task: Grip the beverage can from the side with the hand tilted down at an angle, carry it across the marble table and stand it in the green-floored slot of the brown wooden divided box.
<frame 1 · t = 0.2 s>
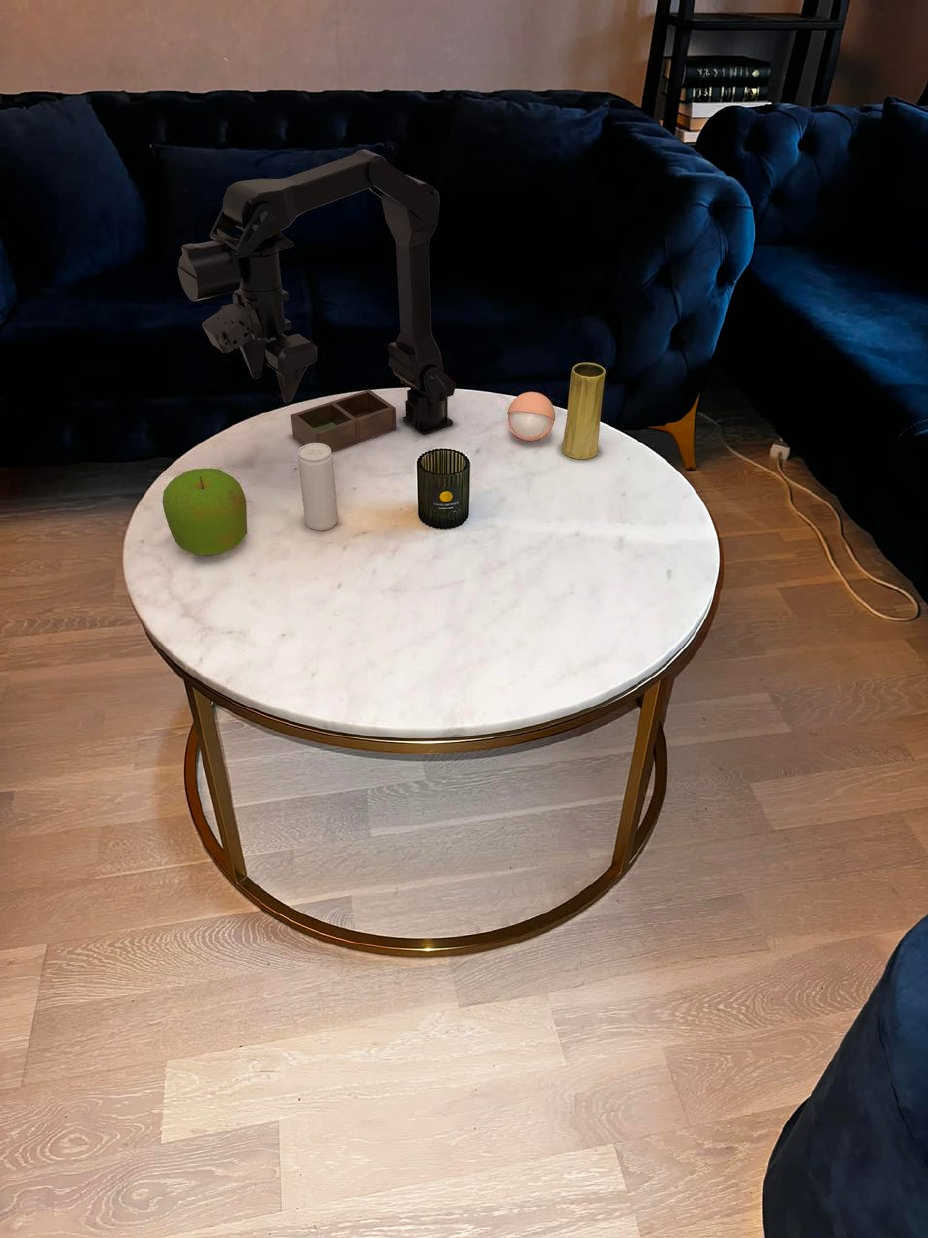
hand: (272, 389, 138), 15 cm above the table, tool pointing down, fingers open, 9 cm apart
brown wooden divided box: (345, 433, 158), on the table
apple: (212, 542, 134), on the table
toy ball: (529, 438, 158), on the table
vase: (579, 451, 155), on the table
beverage can: (321, 523, 138), on the table
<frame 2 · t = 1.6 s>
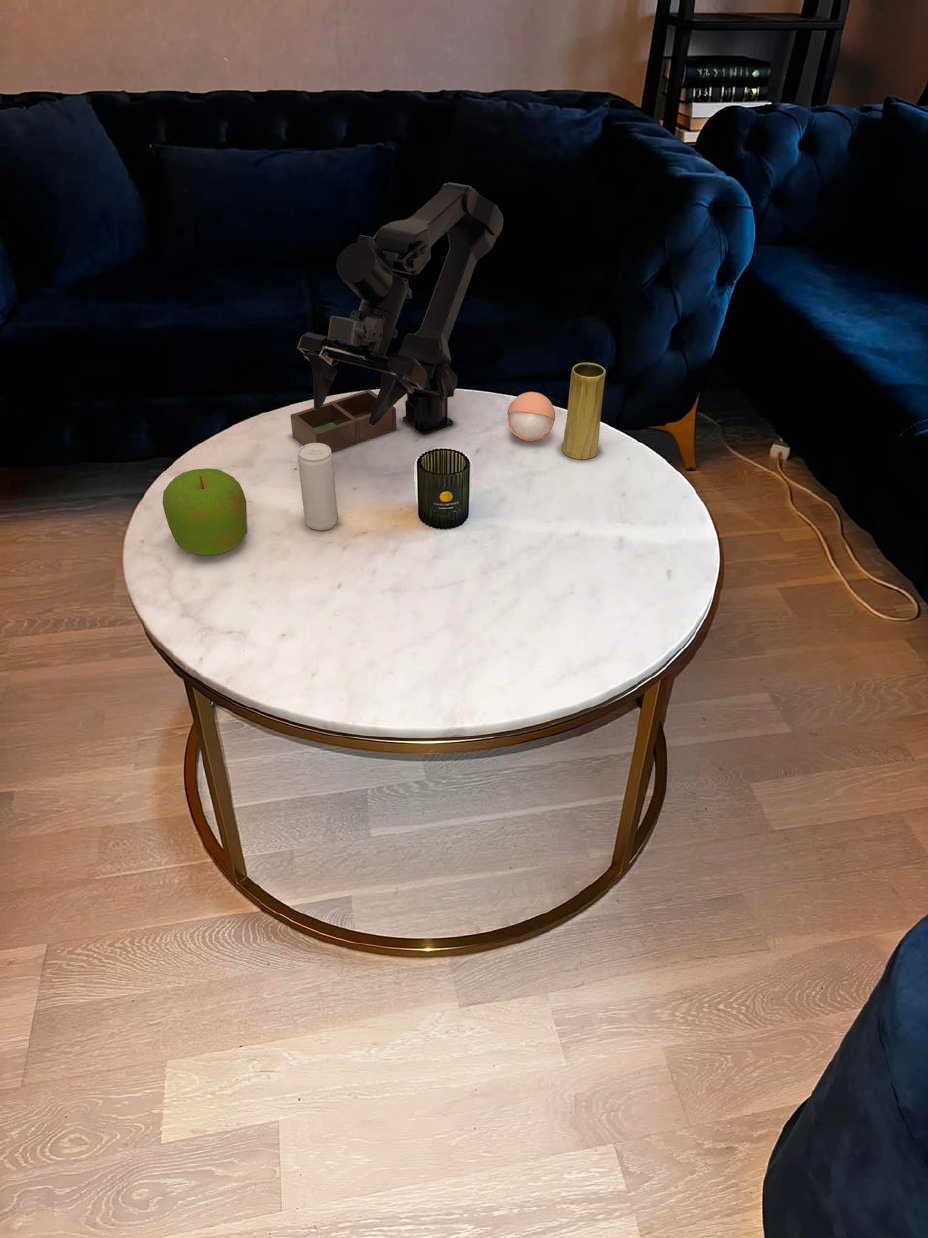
hand: (343, 416, 135), 13 cm above the table, tool tilted 45°, fingers open, 9 cm apart
nothing on the table moved.
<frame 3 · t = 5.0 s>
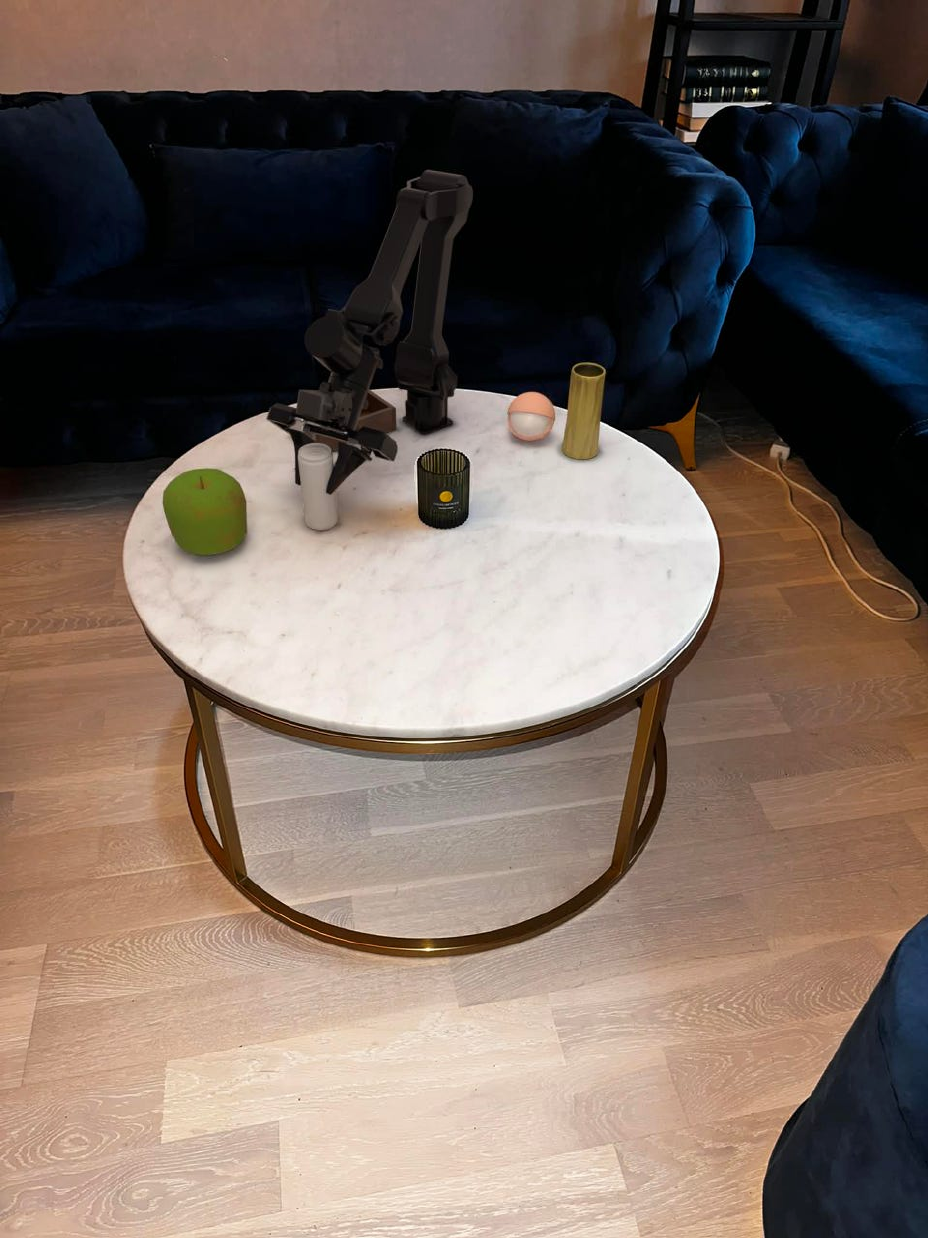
hand: (312, 489, 133), 7 cm above the table, tool tilted 45°, fingers closed on beverage can, 5 cm apart
beverage can: (321, 523, 138), on the table, touching gripper
everything else where it was.
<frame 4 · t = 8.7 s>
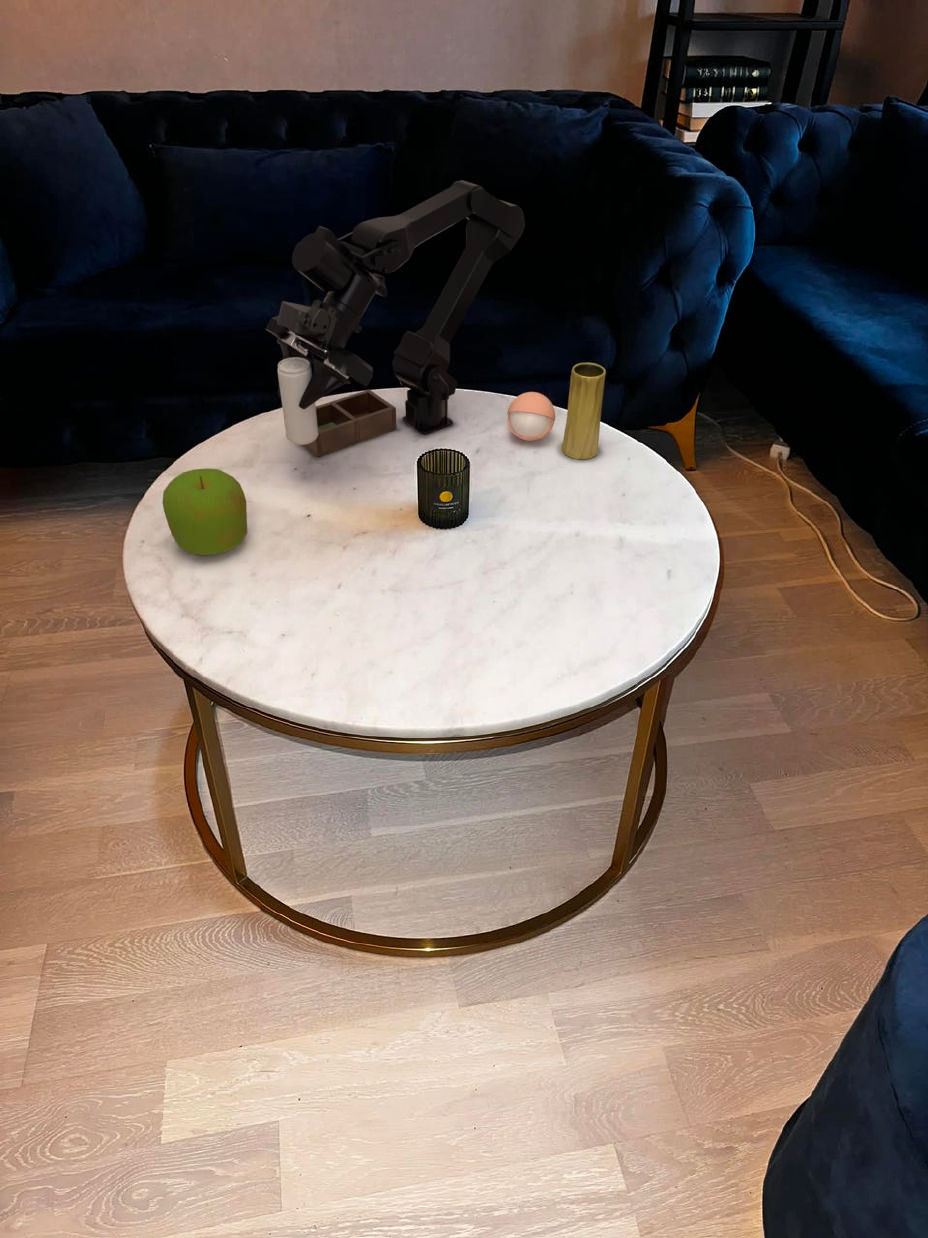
hand: (290, 401, 137), 14 cm above the table, tool tilted 45°, fingers closed on beverage can, 5 cm apart
beverage can: (302, 438, 143), point 7 cm above the table, touching gripper
everything else where it was.
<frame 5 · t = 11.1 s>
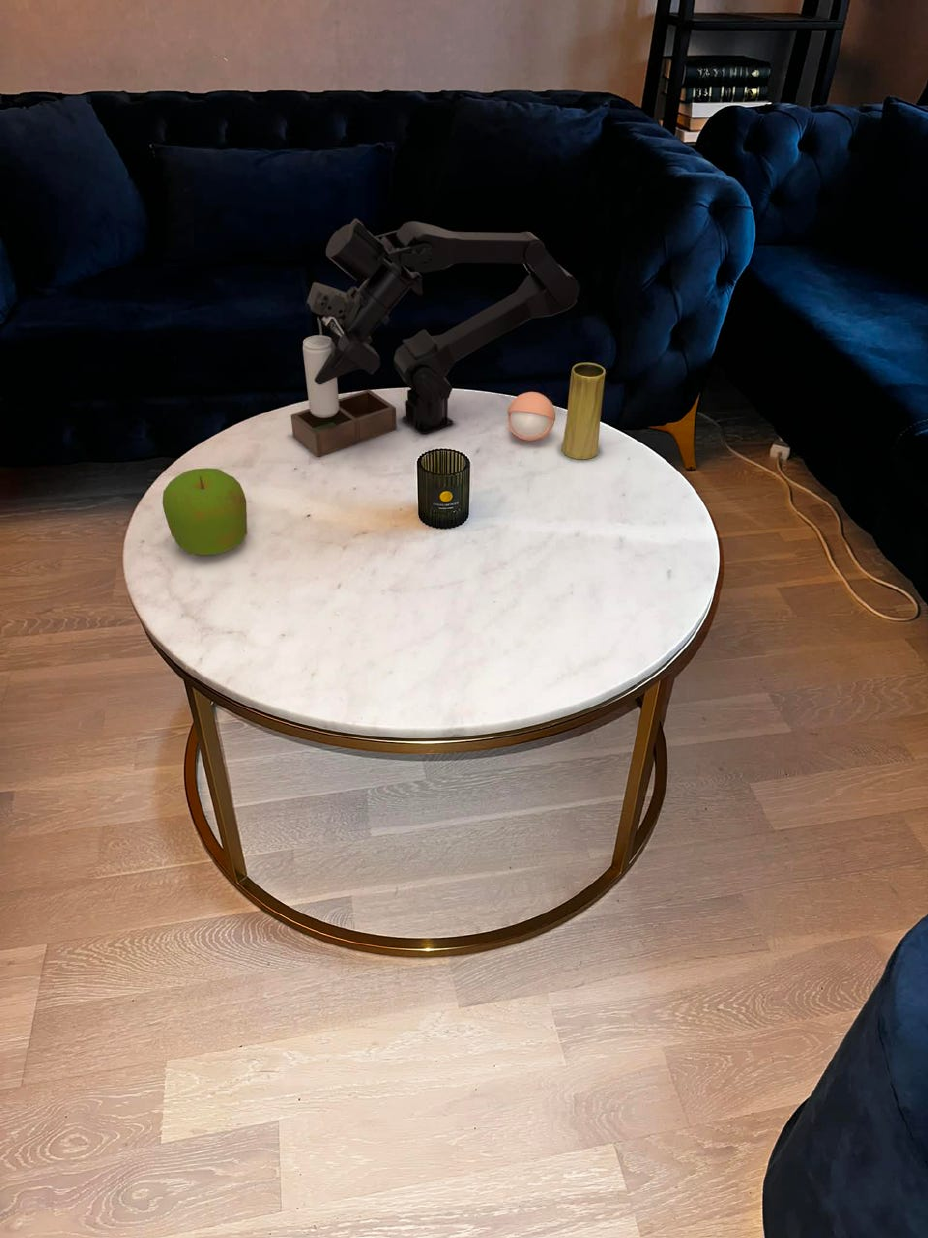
hand: (312, 375, 148), 12 cm above the table, tool tilted 45°, fingers closed on beverage can, 5 cm apart
beverage can: (325, 412, 153), point 5 cm above the table, touching gripper
everything else where it was.
when the fingers open (7 cm above the table, at t = 12.7 s): beverage can stays where it is, resting on brown wooden divided box.
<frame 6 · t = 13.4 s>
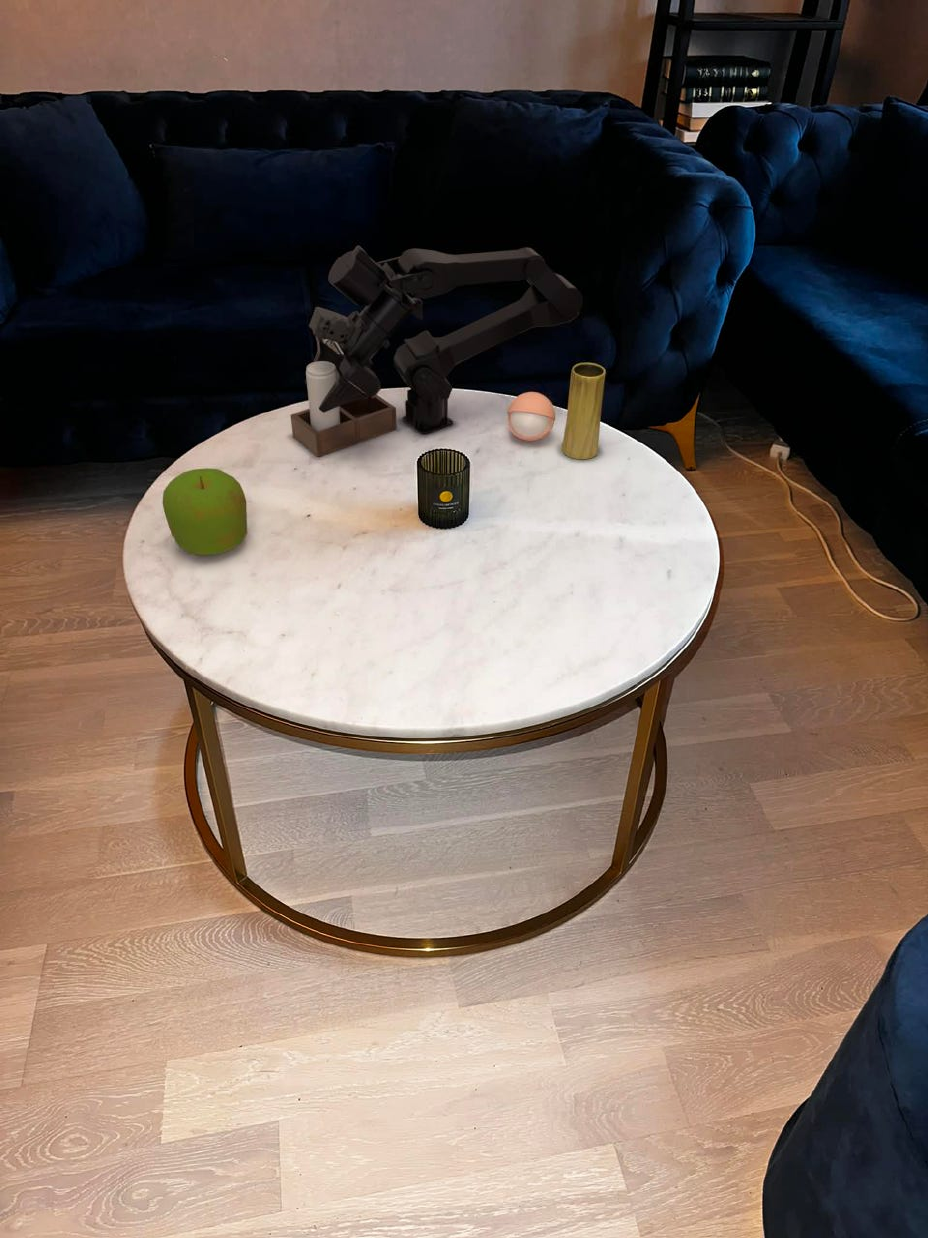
hand: (313, 397, 150), 8 cm above the table, tool tilted 45°, fingers open, 9 cm apart
beverage can: (326, 436, 156), point 1 cm above the table, touching brown wooden divided box
everything else where it was.
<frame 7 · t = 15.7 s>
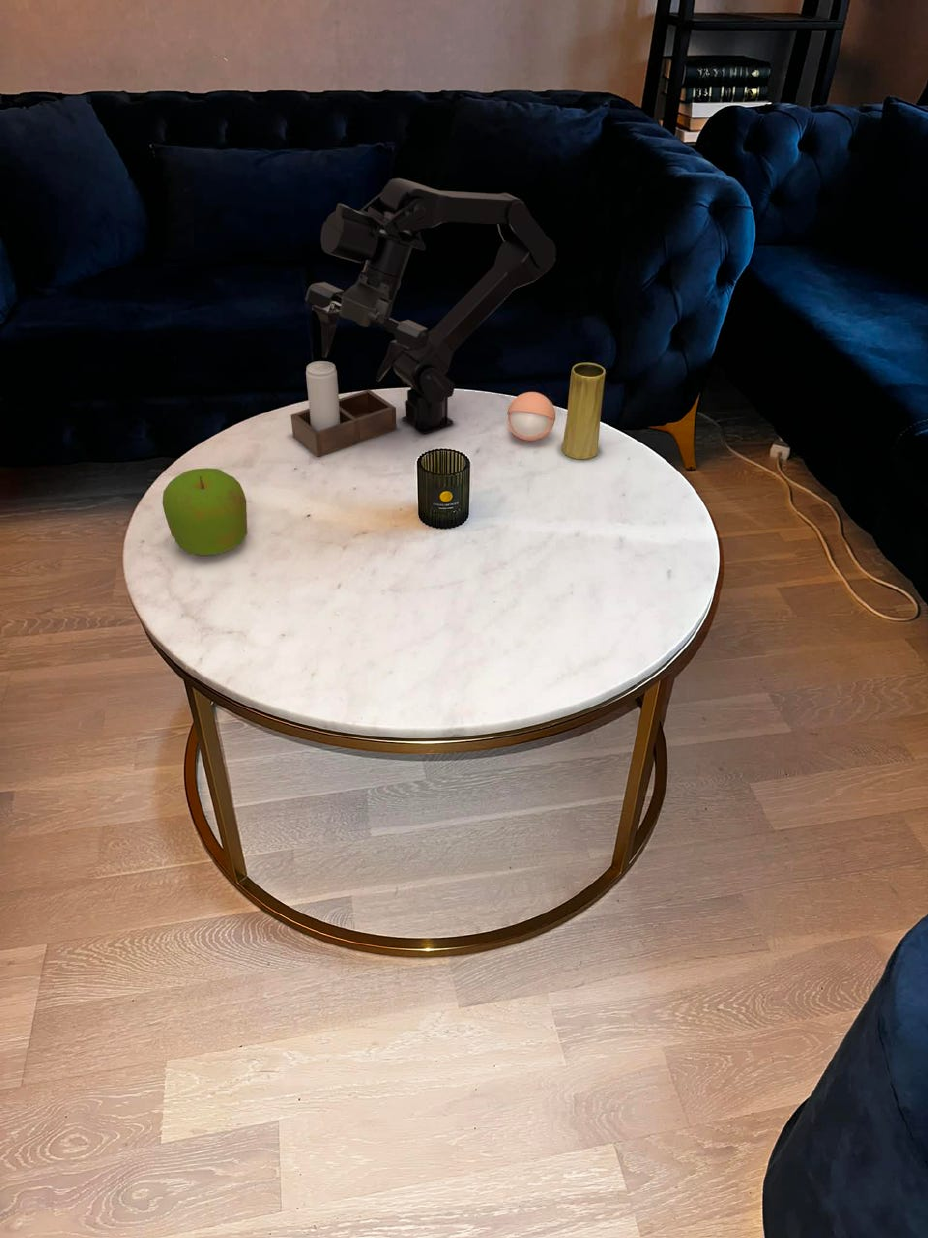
hand: (350, 368, 146), 13 cm above the table, tool tilted 25°, fingers open, 9 cm apart
nothing on the table moved.
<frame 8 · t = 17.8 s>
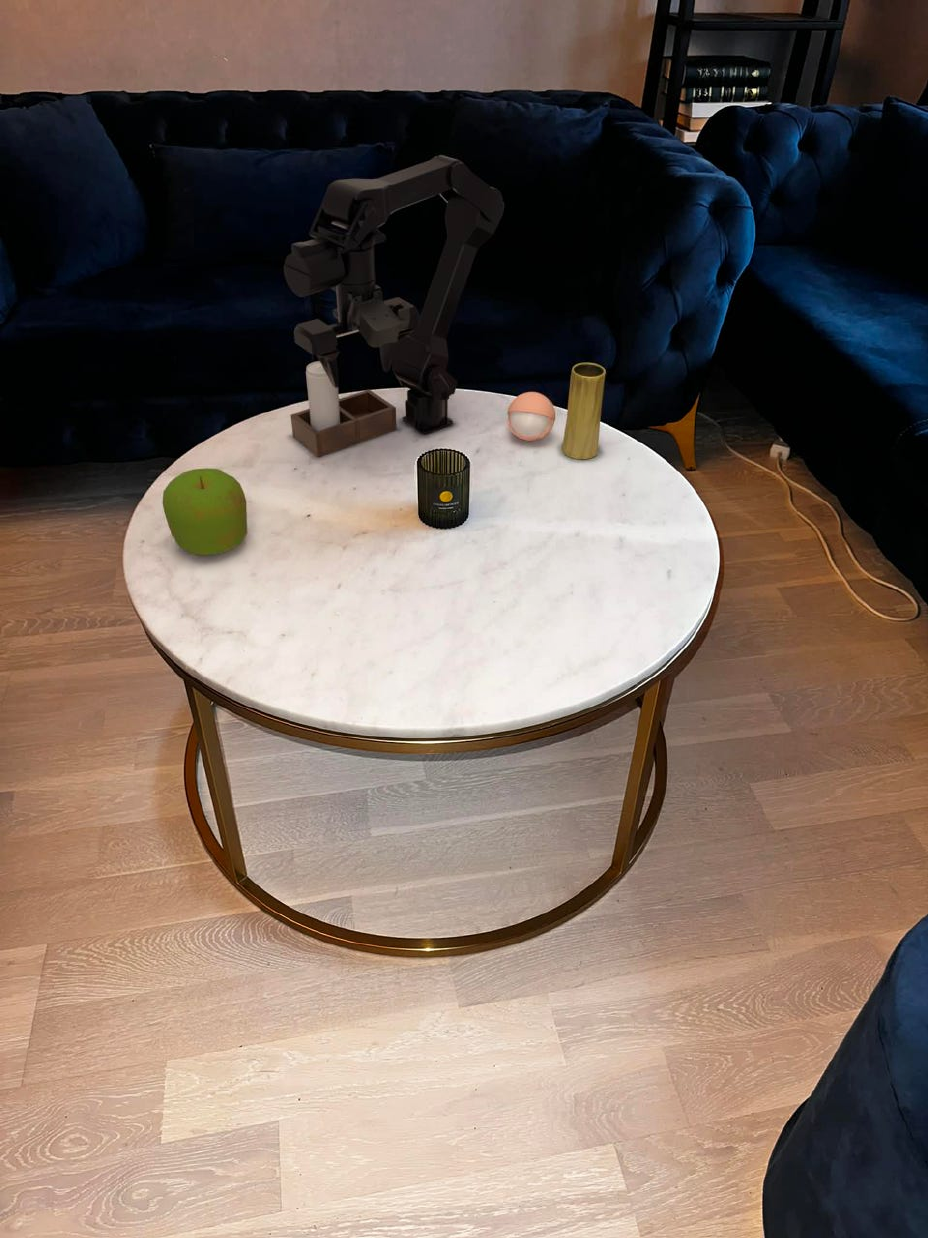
hand: (361, 378, 145), 13 cm above the table, tool pointing down, fingers open, 9 cm apart
nothing on the table moved.
at the end: beverage can 0.2 cm from the target spot in the brown wooden divided box, point 0.6 cm above the brown wooden divided box's base; beverage can tilted 0°; the gripper is holding nothing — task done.
